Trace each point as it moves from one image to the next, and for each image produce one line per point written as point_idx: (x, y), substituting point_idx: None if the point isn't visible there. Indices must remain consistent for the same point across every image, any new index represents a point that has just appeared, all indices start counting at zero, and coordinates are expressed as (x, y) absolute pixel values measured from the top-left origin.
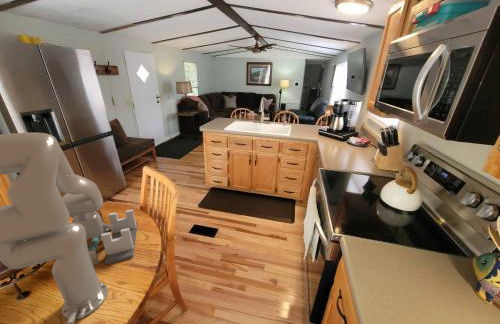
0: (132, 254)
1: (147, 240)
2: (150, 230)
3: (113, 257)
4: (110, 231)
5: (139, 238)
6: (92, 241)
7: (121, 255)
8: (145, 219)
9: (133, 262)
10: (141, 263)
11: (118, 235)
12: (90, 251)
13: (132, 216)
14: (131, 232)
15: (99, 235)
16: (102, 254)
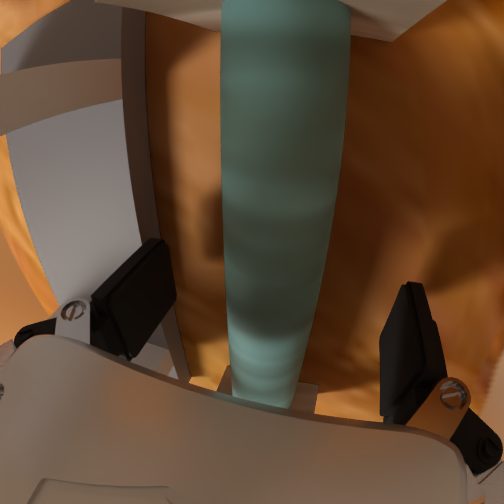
0: (2, 54)
1: (2, 178)
2: (21, 254)
3: (72, 25)
4: (21, 335)
5: None
6: (273, 336)
7: (36, 45)
8: None
9: (20, 9)
10: (2, 6)
11: None
12: (251, 90)
13: None
14: (61, 284)
15: (50, 348)
16: (204, 131)
